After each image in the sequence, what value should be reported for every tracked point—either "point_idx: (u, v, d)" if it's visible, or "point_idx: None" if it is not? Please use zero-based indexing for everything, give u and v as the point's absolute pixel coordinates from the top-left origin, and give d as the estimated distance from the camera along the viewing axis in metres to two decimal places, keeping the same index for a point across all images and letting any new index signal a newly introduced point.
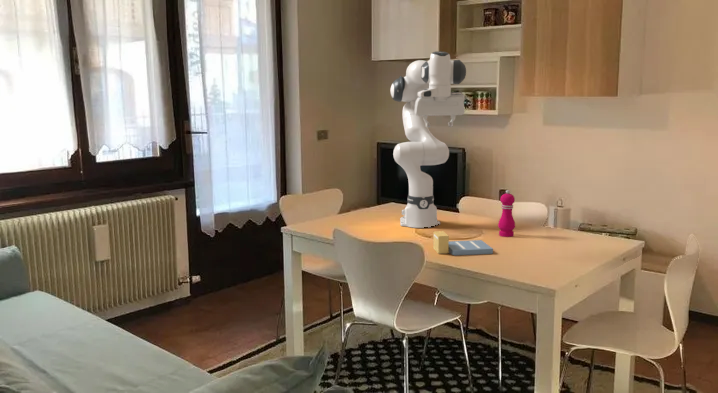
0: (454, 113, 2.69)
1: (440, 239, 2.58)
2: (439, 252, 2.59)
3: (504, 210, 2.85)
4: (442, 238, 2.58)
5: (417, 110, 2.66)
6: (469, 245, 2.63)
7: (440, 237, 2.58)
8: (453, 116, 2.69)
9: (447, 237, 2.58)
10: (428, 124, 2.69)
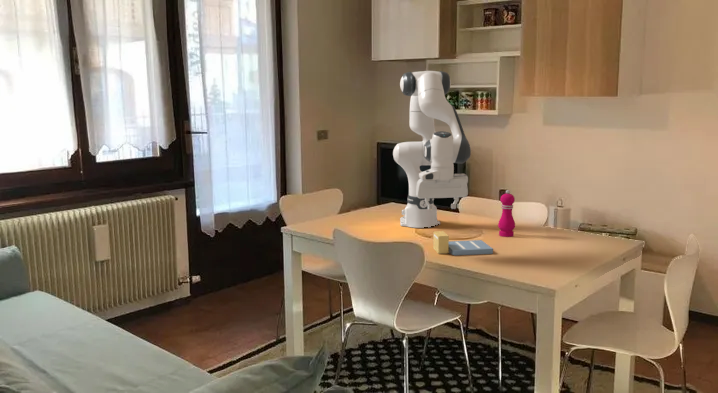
0: (457, 195, 2.58)
1: (440, 239, 2.58)
2: (439, 252, 2.59)
3: (504, 210, 2.85)
4: (442, 238, 2.58)
5: (419, 193, 2.55)
6: (469, 245, 2.63)
7: (440, 237, 2.58)
8: (456, 198, 2.59)
9: (447, 237, 2.58)
10: (430, 207, 2.58)
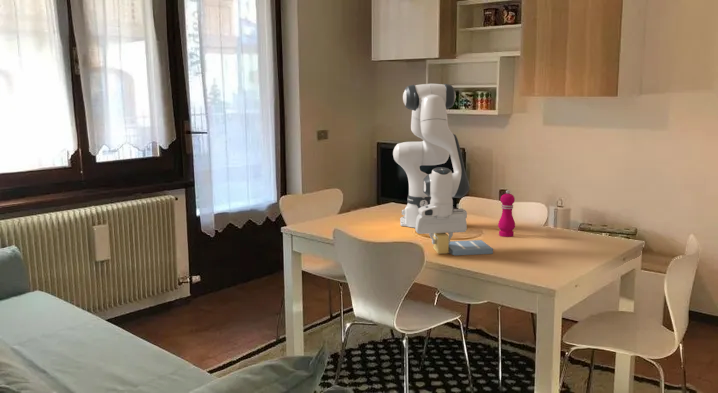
0: (456, 230, 2.60)
1: (440, 239, 2.58)
2: (439, 252, 2.59)
3: (504, 210, 2.85)
4: (442, 238, 2.58)
5: (418, 228, 2.58)
6: (469, 245, 2.63)
7: (440, 237, 2.58)
8: (450, 233, 2.61)
9: (447, 237, 2.58)
10: (434, 241, 2.61)
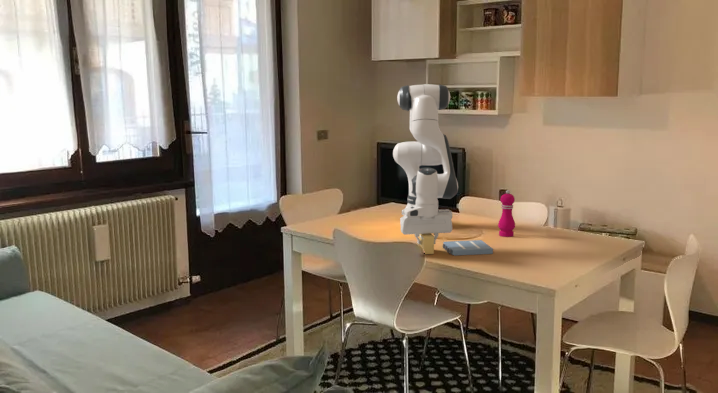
0: (442, 231, 2.60)
1: (425, 240, 2.57)
2: None
3: (504, 210, 2.85)
4: (427, 239, 2.57)
5: (403, 229, 2.57)
6: (469, 245, 2.63)
7: (425, 238, 2.57)
8: (436, 234, 2.60)
9: (432, 238, 2.57)
10: (420, 242, 2.60)
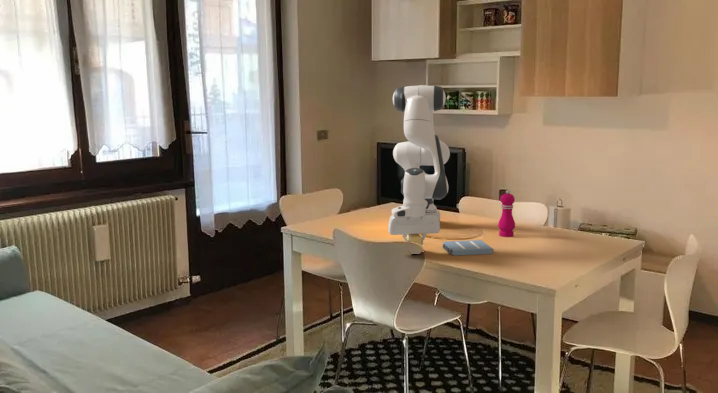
0: (429, 231, 2.59)
1: (413, 240, 2.56)
2: None
3: (504, 210, 2.85)
4: (415, 239, 2.56)
5: (391, 229, 2.56)
6: (469, 245, 2.63)
7: (413, 238, 2.56)
8: (423, 234, 2.59)
9: (420, 238, 2.56)
10: None
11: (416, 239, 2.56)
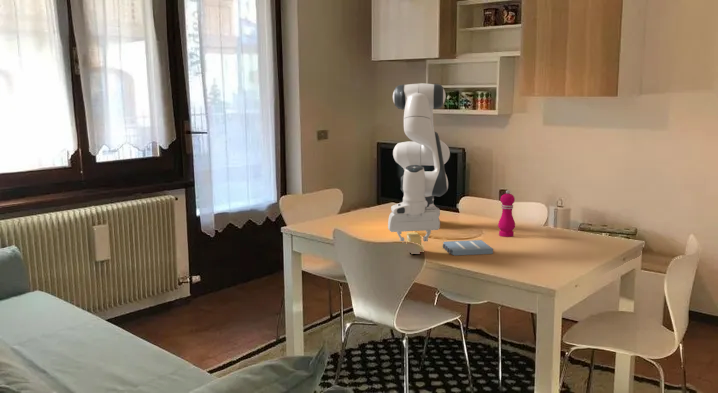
0: (429, 228, 2.59)
1: (413, 240, 2.56)
2: None
3: (504, 210, 2.85)
4: (415, 239, 2.56)
5: (390, 226, 2.56)
6: (469, 245, 2.63)
7: (413, 238, 2.56)
8: (428, 231, 2.60)
9: (420, 238, 2.56)
10: (402, 240, 2.59)
11: (416, 239, 2.56)
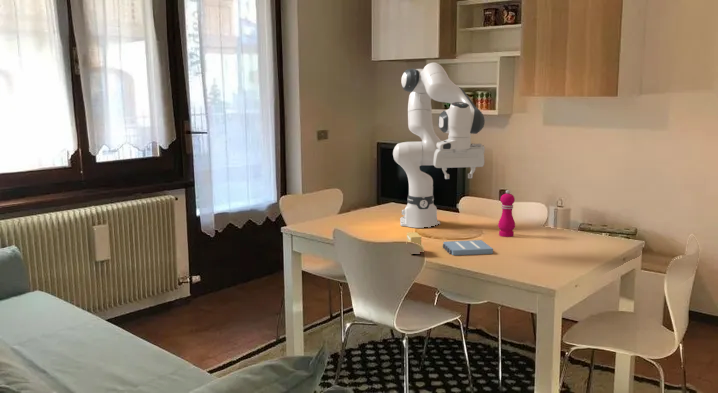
0: (474, 165, 2.62)
1: (413, 240, 2.56)
2: None
3: (504, 210, 2.85)
4: (415, 239, 2.56)
5: (436, 162, 2.60)
6: (469, 245, 2.63)
7: (413, 238, 2.56)
8: (473, 168, 2.63)
9: (420, 238, 2.56)
10: (447, 176, 2.63)
11: (416, 239, 2.56)
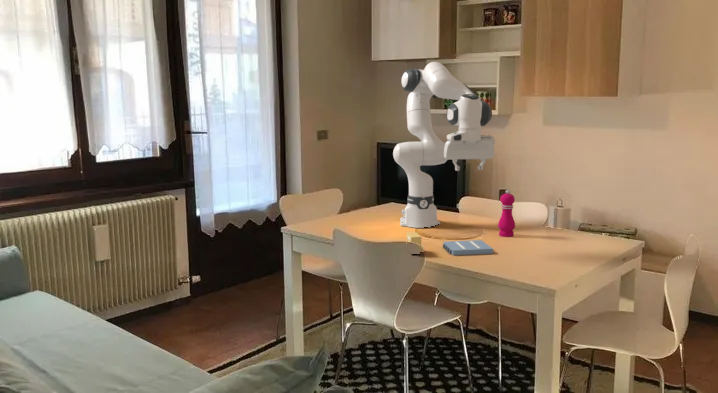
0: (484, 157, 2.64)
1: (413, 240, 2.56)
2: None
3: (504, 210, 2.85)
4: (415, 239, 2.56)
5: (447, 154, 2.61)
6: (469, 245, 2.63)
7: (413, 238, 2.56)
8: (483, 159, 2.65)
9: (420, 238, 2.56)
10: (458, 168, 2.64)
11: (416, 239, 2.56)
